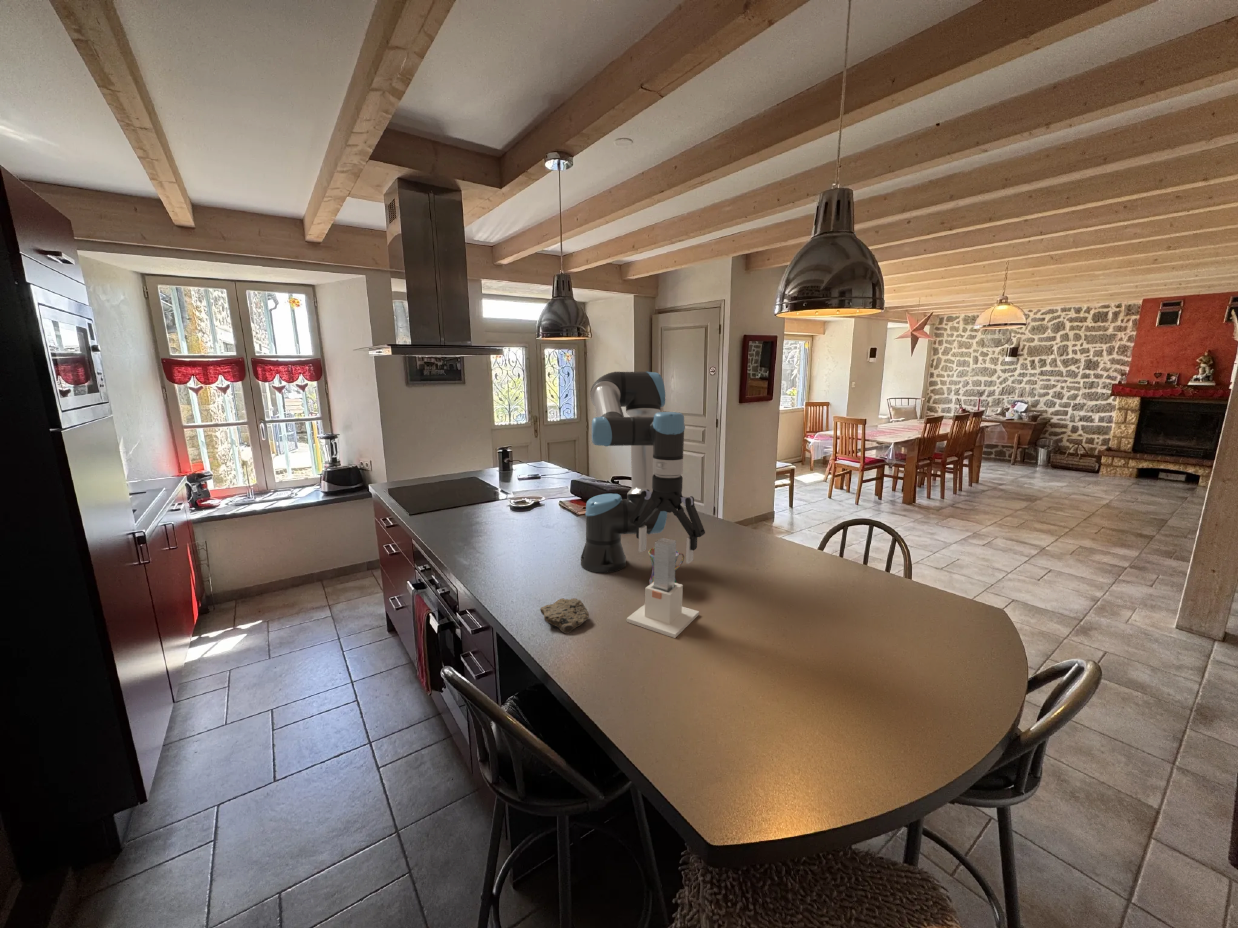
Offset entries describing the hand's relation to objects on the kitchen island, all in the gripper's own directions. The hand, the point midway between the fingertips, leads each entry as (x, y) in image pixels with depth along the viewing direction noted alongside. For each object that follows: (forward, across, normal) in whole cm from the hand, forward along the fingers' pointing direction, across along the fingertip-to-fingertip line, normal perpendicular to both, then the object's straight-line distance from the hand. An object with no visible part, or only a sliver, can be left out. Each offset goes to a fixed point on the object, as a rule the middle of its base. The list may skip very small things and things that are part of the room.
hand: (665, 556), depth 126 cm
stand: (+17, 0, 0) cm, 17 cm away
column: (+16, 0, 0) cm, 16 cm away
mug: (+17, -9, +19) cm, 28 cm away
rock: (+18, -21, -15) cm, 31 cm away
